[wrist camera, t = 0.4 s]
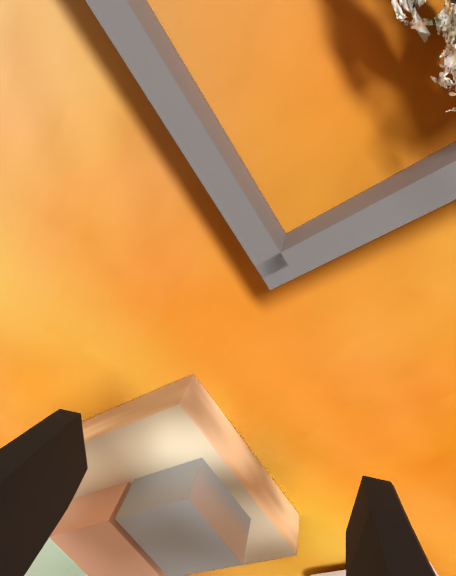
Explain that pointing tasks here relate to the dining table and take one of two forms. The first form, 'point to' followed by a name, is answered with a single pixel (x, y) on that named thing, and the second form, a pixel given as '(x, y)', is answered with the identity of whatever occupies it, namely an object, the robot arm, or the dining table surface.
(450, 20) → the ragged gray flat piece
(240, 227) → the gray open frame
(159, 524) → the tile slate
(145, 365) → the dining table surface
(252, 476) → the board
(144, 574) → the tile terracotta
